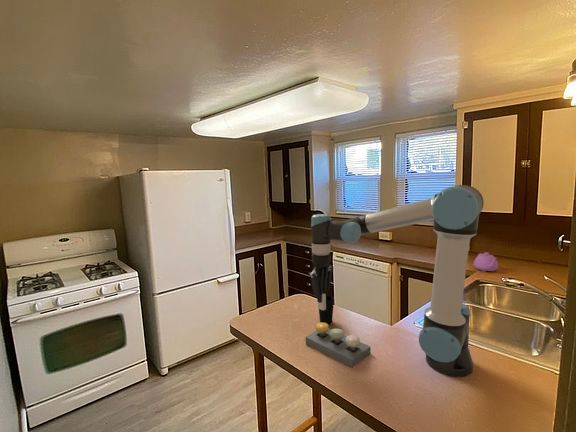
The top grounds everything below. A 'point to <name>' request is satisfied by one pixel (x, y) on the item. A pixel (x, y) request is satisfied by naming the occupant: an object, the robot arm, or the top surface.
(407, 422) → the top surface
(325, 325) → the button amber
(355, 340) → the button cream
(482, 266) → the purple lumpy mound
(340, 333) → the button sage
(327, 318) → the cup
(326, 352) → the panel
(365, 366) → the top surface
